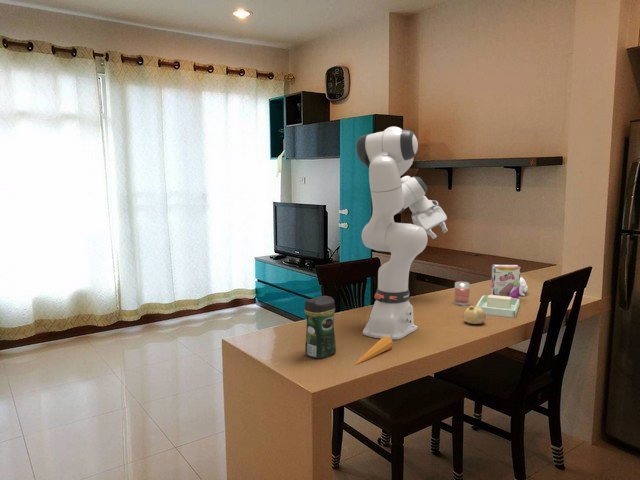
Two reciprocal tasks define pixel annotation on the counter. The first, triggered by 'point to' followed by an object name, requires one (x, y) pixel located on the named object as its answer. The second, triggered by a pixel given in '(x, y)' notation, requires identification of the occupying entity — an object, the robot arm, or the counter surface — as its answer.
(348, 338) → the counter surface
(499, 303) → the cream rectangular block
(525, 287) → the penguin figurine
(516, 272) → the candy bar box
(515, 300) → the mint green tray
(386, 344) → the carrot
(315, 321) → the coffee jar
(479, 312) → the onion
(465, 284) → the pink glass candle
